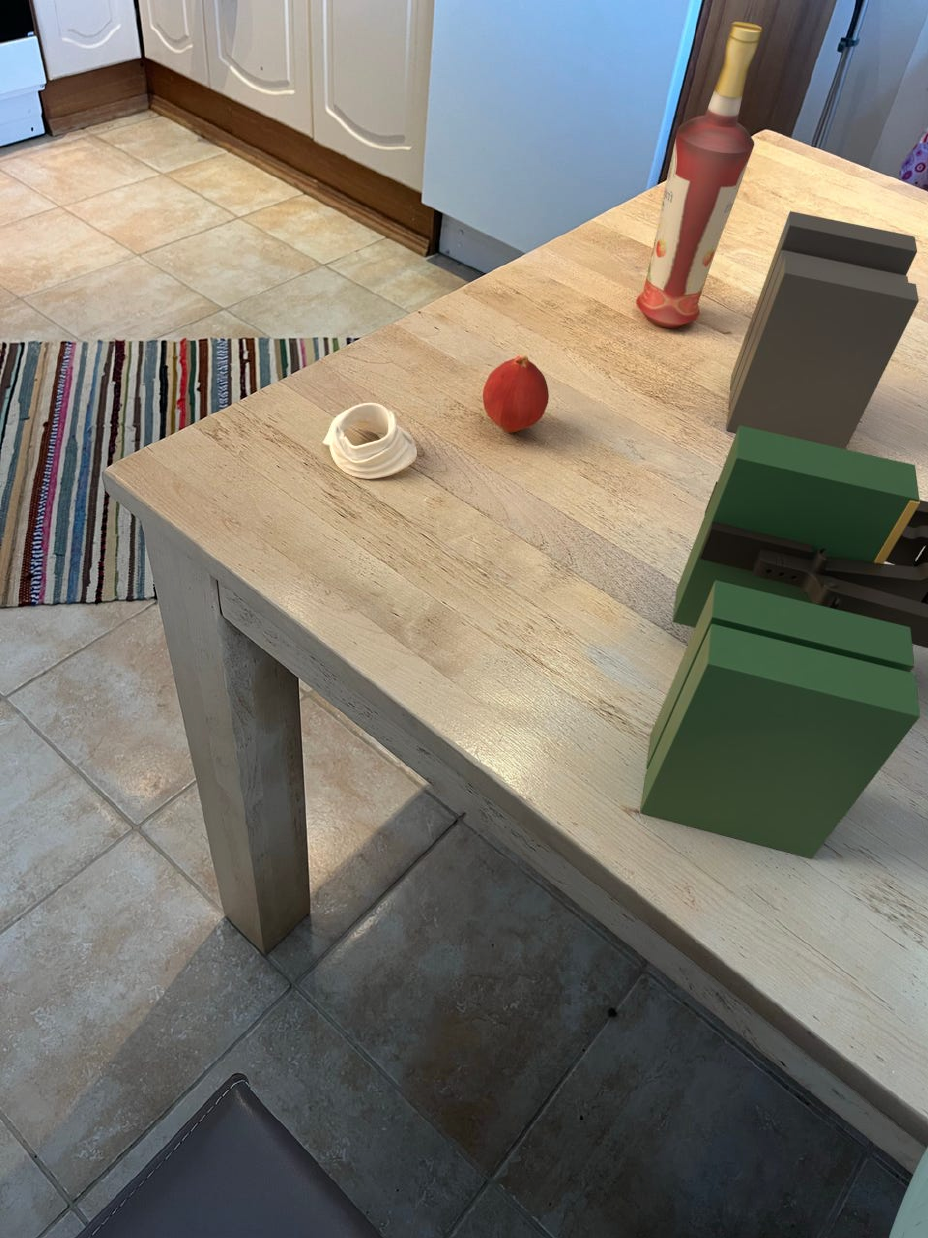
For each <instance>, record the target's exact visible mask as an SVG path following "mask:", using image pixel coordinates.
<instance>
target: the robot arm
mask: <svg viewBox="0 0 928 1238" xmlns="http://www.w3.org/2000/svg"><path fill="white" fill-rule="evenodd" d="M717 482H718V481H716V482H715V484H714V486H713V488H712V489H713V490H712V492H711V495H710V498H709V500H708V502H707V505H706V507H705V510H704V515H705V514H706V511H707V508H708V506H709V503H710V501H711V498H712V495H713V493H714V490H715V488H716V485H717ZM919 501H920V504H919V505H918V507H917V509H916V510H915V512H914V514H913V515H912V517H911V519H910V520H909V522H908V524H907V525H906V527H905V529H904V530H903V532H902V534H901V535H900V537H899V539H898V540H897V542H896V544H895V546H894V547H893V549H892V551H891V552H890V554H889V556H888V557H887V559H886V561H885V562H886V563H884V564H881V563H876V562H867V561H859V560H850V559H841V558H833V557H828V555H827V551H825V549H826V548H820V549H819V550H818V551H817V553H816V555H815V557H814V559H813V560H809V559H810V557H811V556H812V554H813V545H811V544H807V543H802V542H798V541H794V540H790V539H785V538H781V537H777V536H772V535H768V534H764V533H760V532H755V531H751V530H747V529H743V528H738V527H734V526H730V525H726V524H721V523H717V522H713V521H712V523H711V526H710V528H709V531H708V534H707V536H706V539H705V541H704V544H703V546H702V549H701V552H700V559H702V560H707V561H711V562H715V563H719V564H723V565H728V566H732V567H736V568H740V569H744V570H749V571H753V574H754V575H756V576H758V577H760V578H763V579H767V580H769V579H770V580H771V581H777V582H780V583H784V584H788V585H792V586H797V587H800V589H801V591H802V592H803V593H805V594H807V595H808V596H809V598H810V600H811V602H812V604H816V605H820V606H824V607H828V608H832V609H836V610H841V611H845V612H849V613H853V614H857V615H861V616H865V617H869V618H874V619H878V620H882V621H886V622H890V623H894V624H898V625H903V626H907V627H910V629H911V638H912V645H915V646H917V647H922V648H926V649H928V501H926V500H920V499H919ZM837 599H840V600H841V601H840V603H839V604H836V603H835V602H836V600H837ZM900 1203H901V1204H900V1206H899V1208H898V1212H897V1213H896V1216H895V1220H894V1221H893V1222H894V1223H893V1224H892V1227H891V1231H890V1233H889V1237H888V1238H928V1146H927V1147H926V1150H925V1151H924V1153H923V1154H922V1157H921V1159H920V1160H919V1163H918V1164H917V1167H916V1169H915V1171H914V1173H913V1175H912V1177H911V1179H910V1182H909V1184H908V1186H907V1189H906V1191H905V1193H904V1196H903V1198H902V1201H901V1202H900Z"/></svg>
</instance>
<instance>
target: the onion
mask: <svg viewBox="0 0 928 1238" xmlns="http://www.w3.org/2000/svg"><path fill="white" fill-rule="evenodd" d="M549 393H550V391H549V387H548V382H547V379H546V378H545V375H544V374H543V372H542V371H541V370H540V369H539V368H538V367H537V366H536V364H535V363H533V362H531V361H530V360H529V357H528V356H527V355H526V354H523V353H521V354H519V355H518V356H517V357H515V358H511V359H509V360H505V361H504V362H503V363H501V364H500V365H498V366H497V367H495V369H493V370H492V371H491V372H490V373H489V375H488V378H487V380H486V382H485V384H484V387H483V390H482V403H483V407H484V411H485V413H486V415H487V416H488V418H489V419H490V420H491V421H492V422H493V423H494V424H495V425H497V426H498V427H500V428H502V430H504V431H505V432H506V433H508V434H514V433H517V432H519V431H521V430H524V429H526V428H529V427H531V426H533V425H536V423H538V422H539V421H540V420H541V419H542V418H543V416H544V414H545V412H546V410H547V408H548V404H549V397H550V394H549Z"/></svg>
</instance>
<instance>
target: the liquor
mask: <svg viewBox="0 0 928 1238" xmlns="http://www.w3.org/2000/svg"><path fill="white" fill-rule="evenodd" d="M762 31H763V28H762V27H761V26H759V25H757V24H754V23H751V22H747V21H734V22H732V23H731V26H730V29H729V33H728V37H727V41H726V45H725V51H724V61H723V65H722V68H721V71H720V74H719V77H718V79H717V81H716V84H715V87H714V90H713V93H712V96H711V99H710V100H709V104H708V107H707V110H706V112H705V114H704V115H700V116H694V117H693V118H690V119H689V120H687V121H685V122H683V123H682V124H680V125H679V126H678V128H677V129H676V134H675V140H674V144H673V148H672V149H673V150H672V154H671V159H670V163H669V168H668V173H667V178H666V181H665V187H664V192H663V197H662V203H661V207H660V213H659V219H658V224H657V227H656V233H655V237H654V242H653V245H652V246H653V247H652V251H651V256H650V261H649V265H648V269H647V273H646V278H645V282H644V286H643V291H642V292H641V293H640V294H639V295H638V296H637V298H636V306H637V307H638V309H639V310H640V312H641V314H643V317H644V318H645V319H646V320H647V321H648V322H649V323H651V324H653V325H655V326H657V327H659V328H663V329H664V328H665V329H676V328H680V327H683V326H685V325H687V324H689V323H691V322H694V321H695V320H697V319H698V317H699V316H700V308H699V302H700V299H701V296H702V293H703V289H704V286H705V284H706V281H707V278H708V275H709V272H710V269H711V266H712V263H713V261H714V258H715V255H716V252H717V249H718V246H719V243H720V241H721V238H722V235H723V233H724V230H725V227H726V225H727V222H728V219H729V217H730V214H731V212H732V209H733V206H734V204H735V201H736V200H737V199H736V198H737V196H738V193H739V190H740V187H741V184H742V181H743V178H744V176H745V172H746V169H747V167H748V164H749V161H750V158H751V155H752V153H753V150H754V147H755V141H754V139H753V137H752V136H751V134H750V132H749V131H748V130H747V128H746V127H744V126H743V125H742V124H741V123H739V122H738V120H739V114H740V108H741V105H742V104H741V103H742V100H743V95H744V91H745V85H746V80H747V75H748V71H749V68H750V66H751V64H752V60H753V59H754V56H755V54H756V52H757V49H758V46H759V41H760V38H761V36H762Z"/></svg>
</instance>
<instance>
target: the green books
mask: <svg viewBox="0 0 928 1238" xmlns="http://www.w3.org/2000/svg"><path fill="white" fill-rule="evenodd" d="M913 649H914V648H913V644H912V638H911V629H910V627H907V626H903V625H898V624H894V623H890V622H886V621H882V620H878V619H874V618H869V617H865V616H861V615H857V614H853V613H849V612H845V611H841V610H836V609H832V608H828V607H824V606H820V605H816V604H812V603H808V602H803V601H799V600H795V599H791V598H787V597H783V596H779V595H775V594H770V593H766V592H762V591H758V590H754V589H750V588H746V587H741V586H737V585H733V584H729V583H725V582H721V581H717V580H716V581H715V582H714V585H713V587H712V589H711V592H710V594H709V596H708V599H707V601H706V604H705V606H704V608H703V611H702V613H701V615H700V618H699V620H698V623H697V625H696V627H695V628H694V630H693V632H692V634H691V637H690V638H689V642H688V644H687V647H686V649H685V652H684V653H683V656H682V658H681V661H680V663H679V665H678V668H677V670H676V673H675V674H674V678H673V679H672V682H671V685H670V687H669V690H668V692H667V694H666V697H665V699H664V702H663V703H662V705H661V708H660V711H659V713H658V715H657V718H656V720H655V723H654V725H653V727H652V730H651V732H650V736H649V744H648V750H647V751H648V752H647V758H646V764H645V765H646V766H645V769H646V772H645V774H644V779H643V786H642V787H643V788H642V793H641V795H642V796H641V800H640V801H641V802H640V810H639V813H640V814H643V815H646V816H651V817H655V818H658V819H662V820H666V821H669V822H673V823H677V824H680V825H683V826H688V827H691V828H694V829H695V828H696V829H699V830H702V831H705V832H706V831H707V832H710V833H714V834H717V835H721V836H726V837H730V838H734V839H736V840H741V841H744V842H748V843H751V844H755V845H758V846H763V847H767V848H770V849H775V850H777V851H781V852H785V853H789V854H793V855H795V856H796V855H797V856H800V857H804V858H808V859H813V858H814V856H815V855H816V854H817V853H818V852H819V850H820V849H821V847H823V845H824V843H825V842H826V841H827V840H828V838H829V837H830V836H831V835H832V833H833V832H834V831H835V829H836V828H837V826H838V825H839V824H840V822H841V821H842V820H843V819H844V817H845V816H846V815H847V813H848V812H849V811H850V809H851V808H852V807H853V805H854V804H855V803H856V801H857V800H858V799H859V798H860V796H861V795H862V794H863V792H864V791H865V790H866V789H867V787H868V786H869V784H870V783H871V782H872V781H873V779H874V778H875V777H876V775H877V774H878V773H879V771H880V770H881V769H882V768H883V766H884V765H885V763H887V762H888V760H889V758H890V757H891V755H892V754H893V753H894V752H895V750H896V749H897V747H899V745H900V744H901V742H902V741H903V740H904V739H905V738H906V736H907V735H908V734H909V732H910V731H911V729H912V728H913V727H914V725H915V724H916V723H917V721H918V720H919V719H920V717H921V712H920V703H919V695H918V693H919V692H918V684H917V676H916V675H917V674H916V673H913V672H912V671H913V669H914V668H915V658H914V650H913Z"/></svg>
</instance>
